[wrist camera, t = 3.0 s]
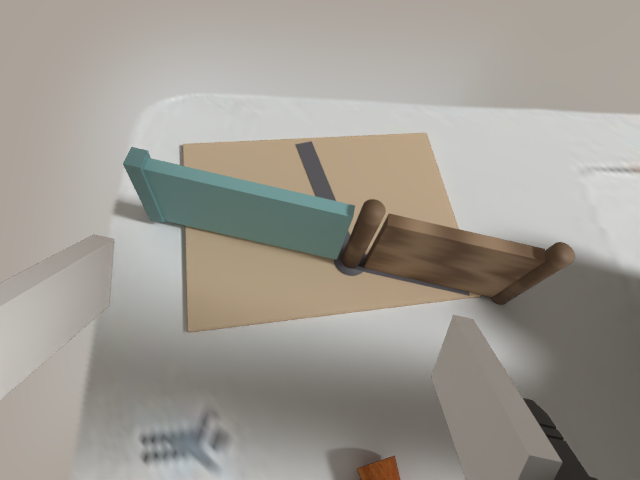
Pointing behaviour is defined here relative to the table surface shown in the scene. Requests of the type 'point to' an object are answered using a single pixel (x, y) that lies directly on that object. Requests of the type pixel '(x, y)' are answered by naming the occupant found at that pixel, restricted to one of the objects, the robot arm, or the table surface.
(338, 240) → the fence gate
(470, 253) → the fence frame
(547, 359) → the table surface
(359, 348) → the table surface
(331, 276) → the mat
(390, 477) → the purple and orange maraca
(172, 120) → the table surface
